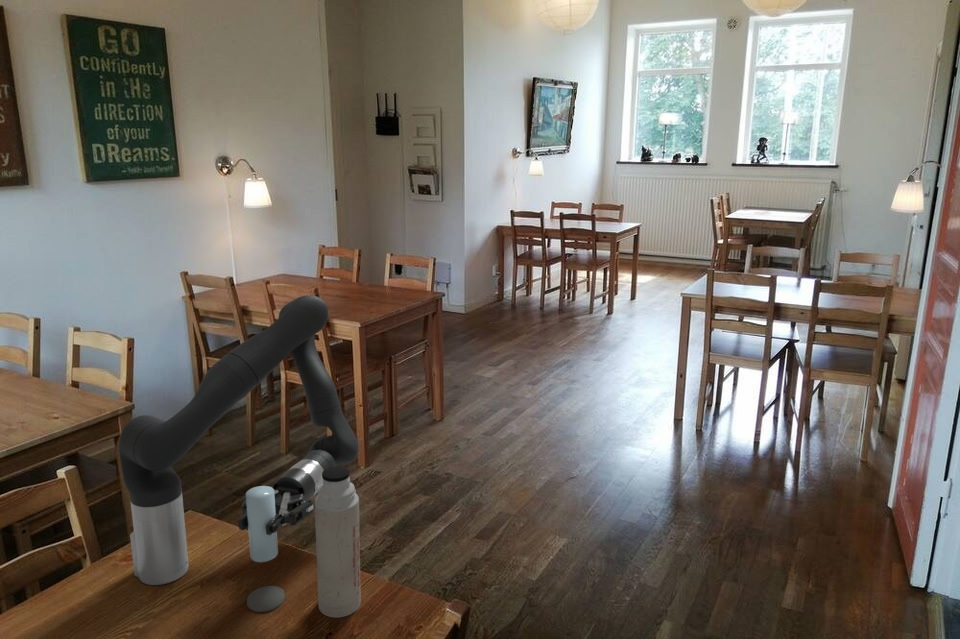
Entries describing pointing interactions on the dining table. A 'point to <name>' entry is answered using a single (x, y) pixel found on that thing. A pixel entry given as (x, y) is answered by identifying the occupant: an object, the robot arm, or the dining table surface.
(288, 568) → the dining table surface
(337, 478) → the thermos bottle
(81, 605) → the dining table surface
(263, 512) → the tall pale blue cylinder
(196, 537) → the dining table surface
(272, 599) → the coaster
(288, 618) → the dining table surface
